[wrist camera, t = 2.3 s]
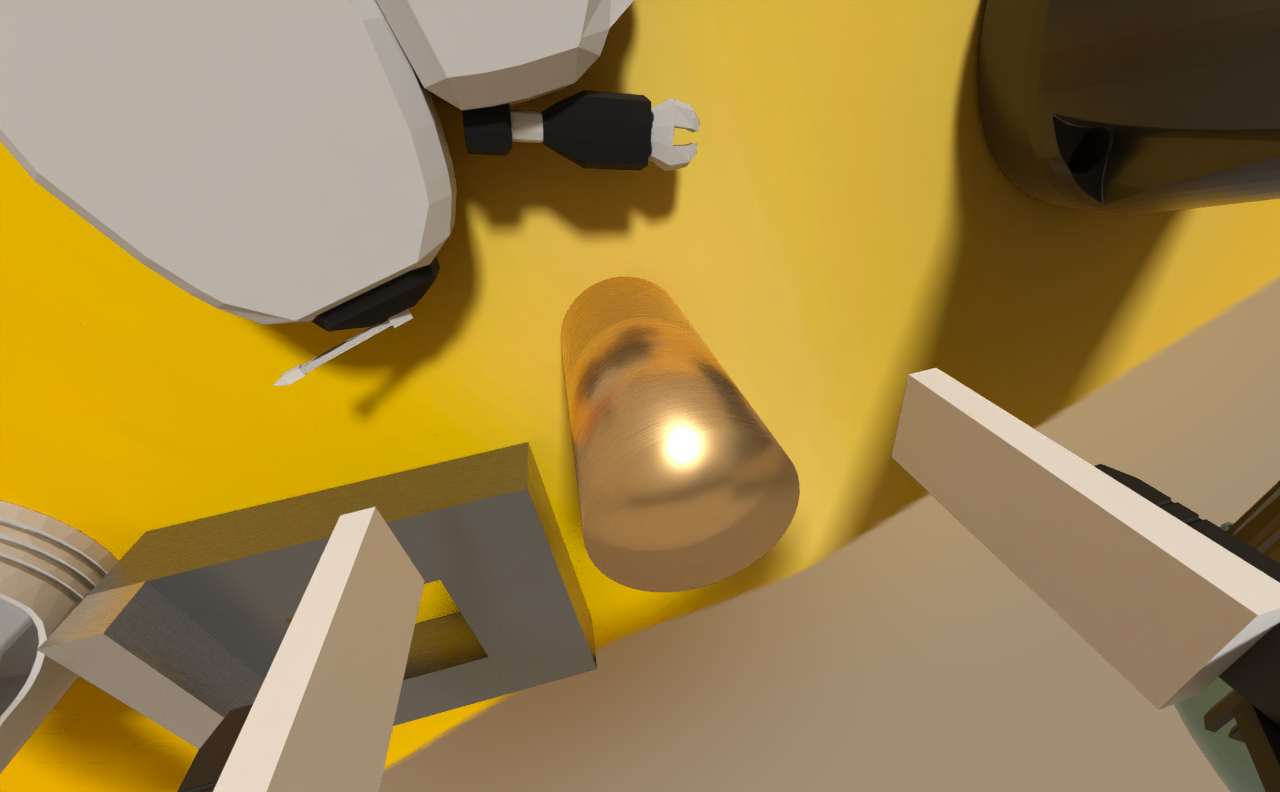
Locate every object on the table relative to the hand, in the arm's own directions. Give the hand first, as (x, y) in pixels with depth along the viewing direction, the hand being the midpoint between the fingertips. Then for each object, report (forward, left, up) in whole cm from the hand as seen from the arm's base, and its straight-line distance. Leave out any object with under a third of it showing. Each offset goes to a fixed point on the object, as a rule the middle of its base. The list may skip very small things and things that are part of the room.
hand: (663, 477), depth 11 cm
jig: (+13, +11, -9) cm, 19 cm away
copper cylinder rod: (0, 0, -9) cm, 9 cm away
